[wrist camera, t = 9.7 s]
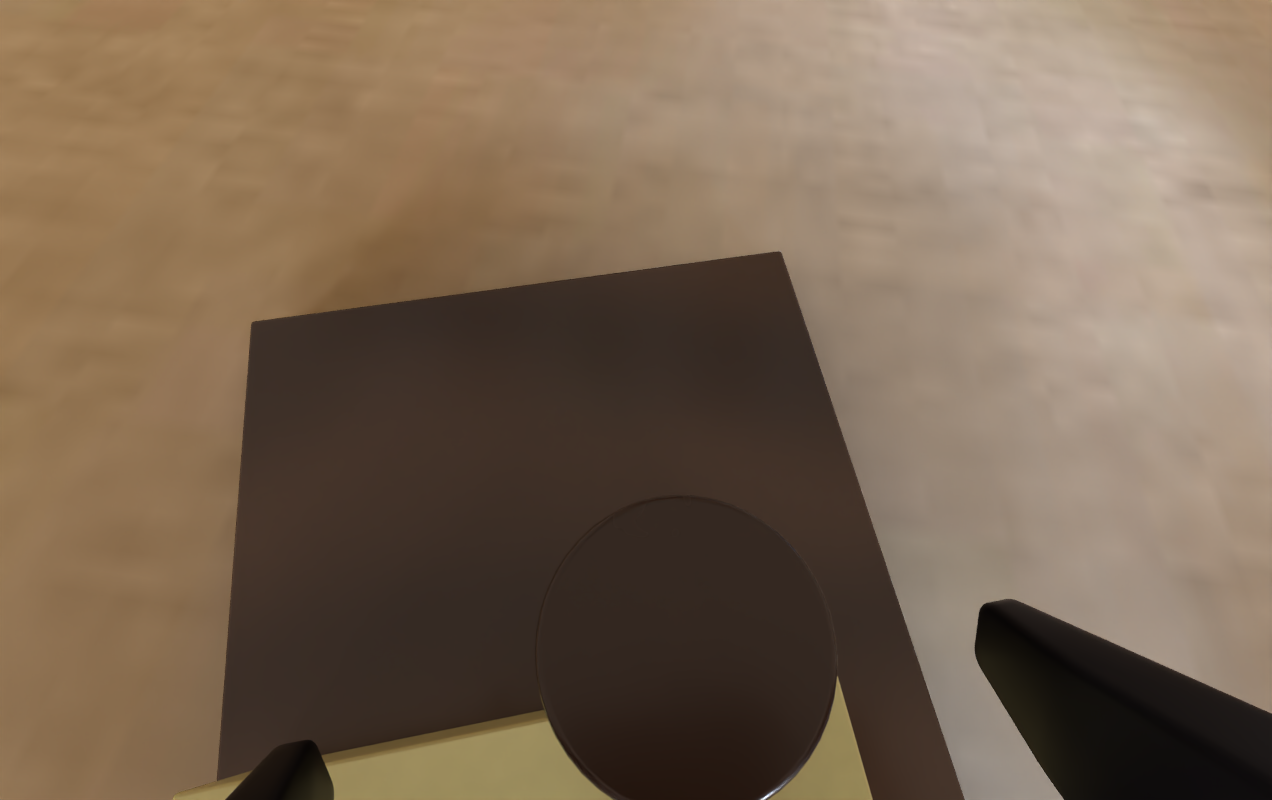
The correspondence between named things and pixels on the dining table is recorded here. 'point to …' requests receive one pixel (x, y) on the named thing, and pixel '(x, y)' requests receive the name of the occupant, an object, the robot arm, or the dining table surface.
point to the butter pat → (831, 763)
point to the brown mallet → (686, 654)
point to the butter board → (530, 499)
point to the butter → (450, 767)
